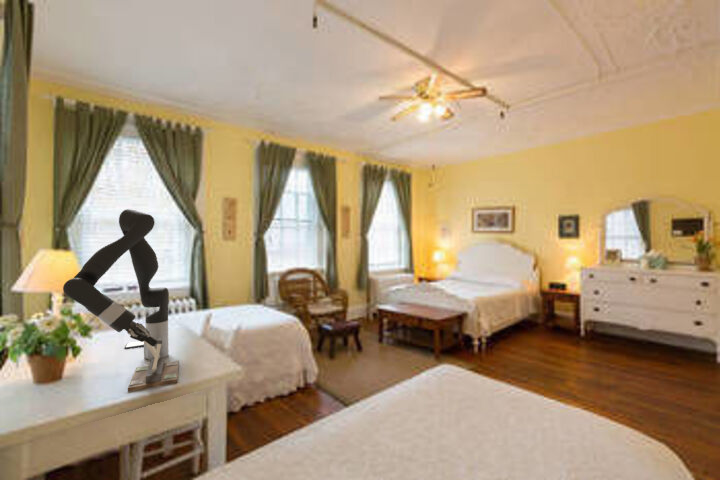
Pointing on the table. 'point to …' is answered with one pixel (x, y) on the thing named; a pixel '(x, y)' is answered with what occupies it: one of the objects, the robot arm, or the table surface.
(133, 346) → the phone case
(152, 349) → the lever inner
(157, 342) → the lever outer
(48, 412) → the table surface
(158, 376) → the switch board
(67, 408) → the table surface
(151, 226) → the robot arm
